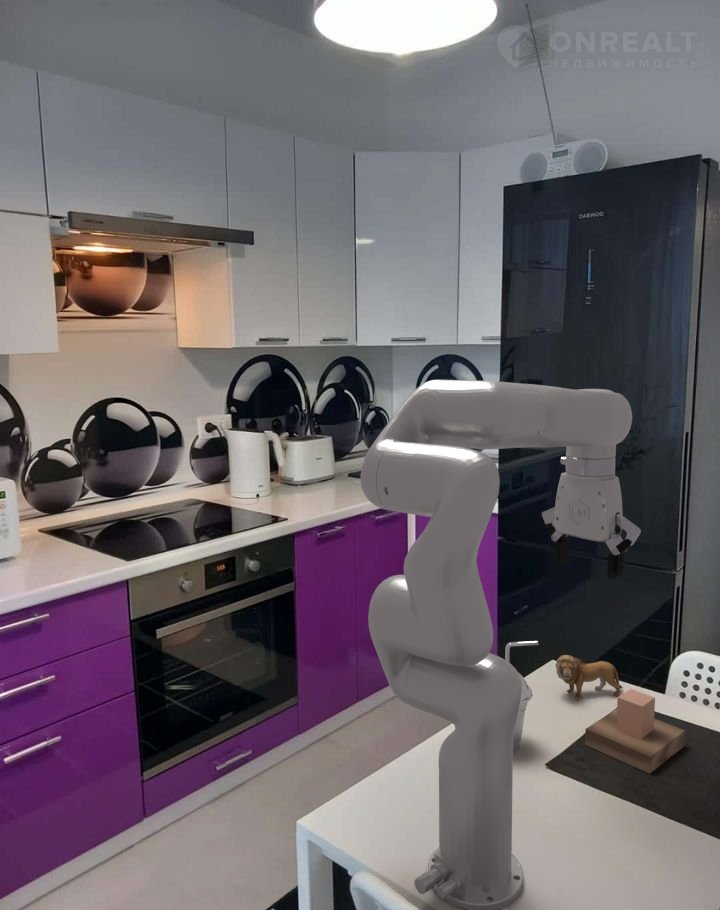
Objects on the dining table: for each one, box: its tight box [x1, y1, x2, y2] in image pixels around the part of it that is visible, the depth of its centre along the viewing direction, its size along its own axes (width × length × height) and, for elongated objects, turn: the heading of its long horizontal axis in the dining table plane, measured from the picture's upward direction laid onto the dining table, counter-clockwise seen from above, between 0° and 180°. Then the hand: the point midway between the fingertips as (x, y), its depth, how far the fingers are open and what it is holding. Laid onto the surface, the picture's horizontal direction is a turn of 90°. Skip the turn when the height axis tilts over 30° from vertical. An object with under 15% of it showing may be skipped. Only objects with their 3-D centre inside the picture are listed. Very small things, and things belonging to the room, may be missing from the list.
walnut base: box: [584, 708, 686, 775], centre depth 129 cm, size 12×12×3 cm
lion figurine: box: [555, 654, 624, 700], centre depth 148 cm, size 15×5×9 cm, turn 104°
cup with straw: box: [504, 640, 540, 752], centre depth 129 cm, size 8×9×20 cm
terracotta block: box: [616, 688, 656, 739], centre depth 129 cm, size 4×4×6 cm
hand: (587, 570), depth 121 cm, fingers open, 9 cm apart
